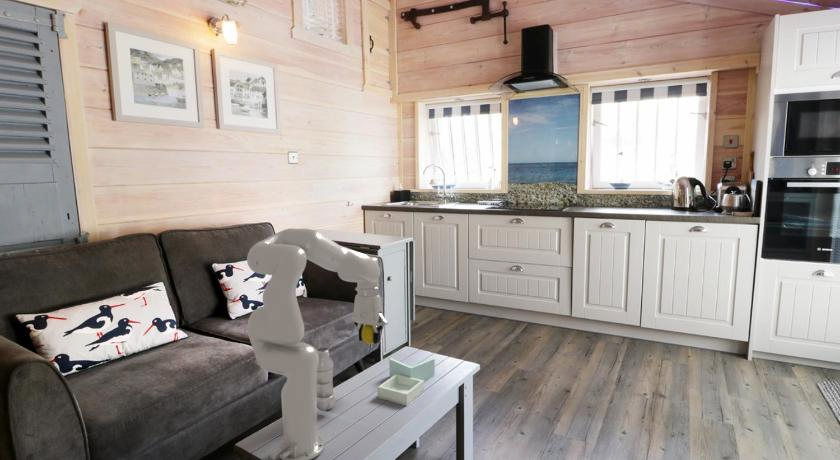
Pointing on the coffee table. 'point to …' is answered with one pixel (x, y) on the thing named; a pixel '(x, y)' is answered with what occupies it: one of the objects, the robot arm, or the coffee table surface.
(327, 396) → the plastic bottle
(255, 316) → the robot arm
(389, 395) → the bin
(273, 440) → the coffee table surface
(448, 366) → the coffee table surface
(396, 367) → the l-shaped corner panel
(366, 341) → the lemon
